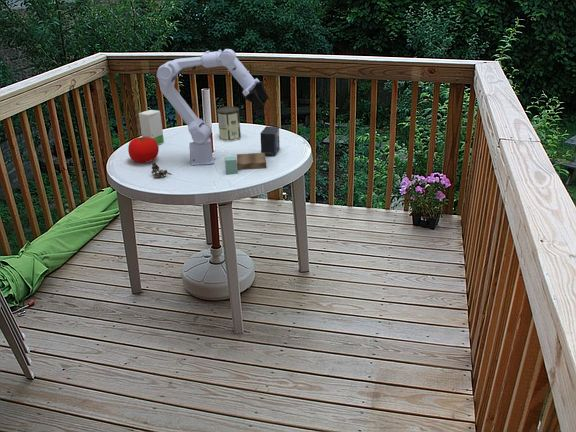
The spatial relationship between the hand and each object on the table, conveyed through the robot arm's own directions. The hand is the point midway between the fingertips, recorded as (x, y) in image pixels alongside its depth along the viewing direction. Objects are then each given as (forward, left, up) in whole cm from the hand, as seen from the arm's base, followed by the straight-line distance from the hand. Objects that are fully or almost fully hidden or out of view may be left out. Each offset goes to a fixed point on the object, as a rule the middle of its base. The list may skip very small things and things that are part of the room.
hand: (264, 103), depth 230 cm
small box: (+2, +13, -26) cm, 29 cm away
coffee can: (-16, +37, -26) cm, 48 cm away
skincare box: (-52, +34, -26) cm, 67 cm away
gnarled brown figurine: (-43, -8, -26) cm, 51 cm away
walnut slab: (-7, 0, -26) cm, 26 cm away
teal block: (-15, -9, -26) cm, 31 cm away
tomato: (-53, +12, -26) cm, 60 cm away
